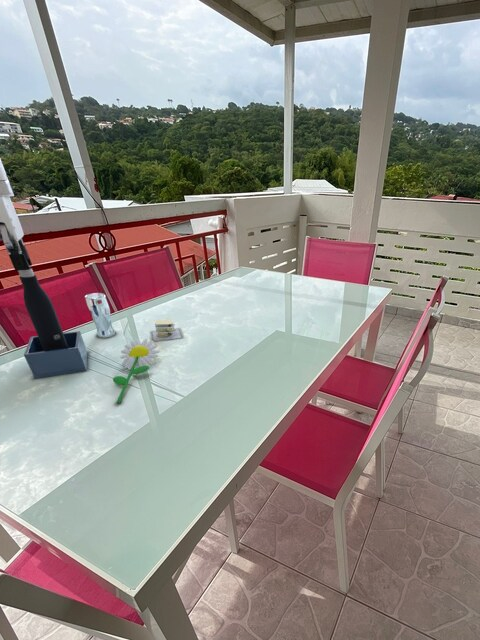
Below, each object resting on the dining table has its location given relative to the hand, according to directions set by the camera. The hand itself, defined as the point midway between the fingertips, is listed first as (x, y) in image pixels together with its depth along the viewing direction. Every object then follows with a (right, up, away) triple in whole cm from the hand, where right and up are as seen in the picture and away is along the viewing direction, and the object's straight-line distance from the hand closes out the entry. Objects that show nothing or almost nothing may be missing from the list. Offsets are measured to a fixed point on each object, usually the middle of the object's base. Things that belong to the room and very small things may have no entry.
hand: (23, 267), depth 90 cm
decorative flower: (+23, -29, +13) cm, 40 cm away
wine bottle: (-1, -20, +14) cm, 25 cm away
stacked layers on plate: (+23, -11, +40) cm, 47 cm away
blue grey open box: (-2, -25, +17) cm, 30 cm away
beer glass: (+1, -11, +38) cm, 39 cm away
